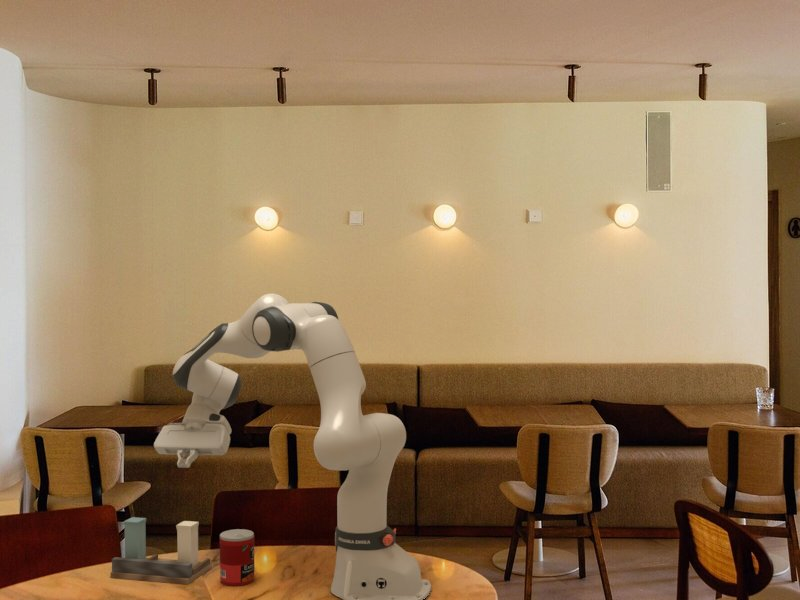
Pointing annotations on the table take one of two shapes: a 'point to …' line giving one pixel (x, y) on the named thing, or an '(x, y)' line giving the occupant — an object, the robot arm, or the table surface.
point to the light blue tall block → (135, 538)
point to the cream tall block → (187, 542)
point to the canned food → (237, 557)
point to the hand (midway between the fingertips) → (182, 466)
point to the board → (159, 578)
